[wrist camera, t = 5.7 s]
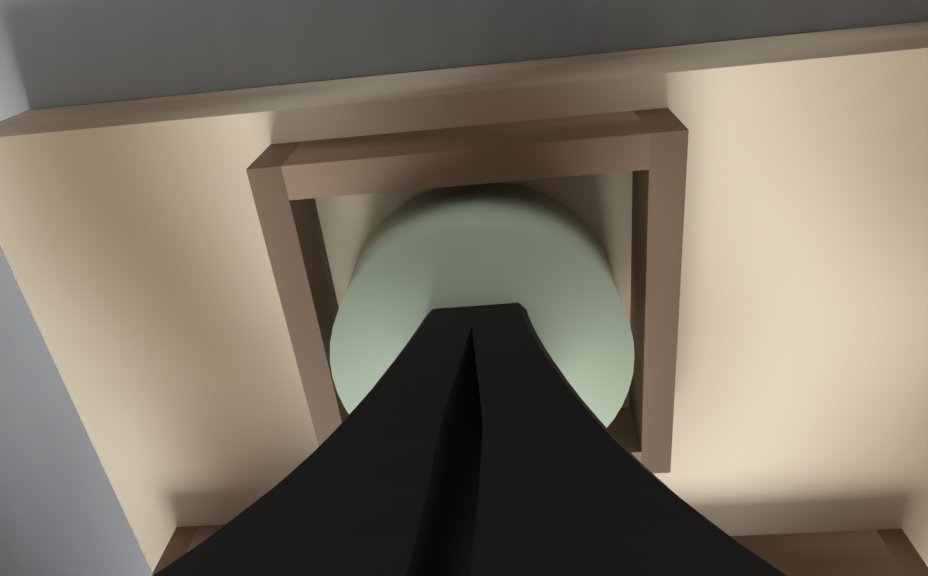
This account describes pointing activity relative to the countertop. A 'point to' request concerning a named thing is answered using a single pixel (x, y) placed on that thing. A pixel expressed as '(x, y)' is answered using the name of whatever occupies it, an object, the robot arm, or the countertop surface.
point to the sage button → (486, 287)
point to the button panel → (559, 177)
